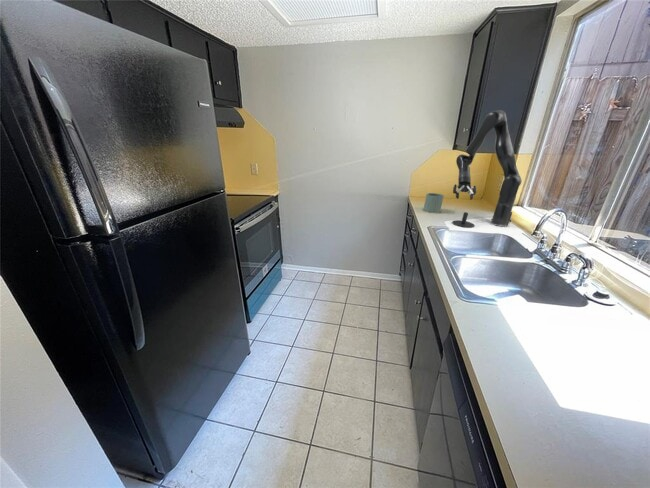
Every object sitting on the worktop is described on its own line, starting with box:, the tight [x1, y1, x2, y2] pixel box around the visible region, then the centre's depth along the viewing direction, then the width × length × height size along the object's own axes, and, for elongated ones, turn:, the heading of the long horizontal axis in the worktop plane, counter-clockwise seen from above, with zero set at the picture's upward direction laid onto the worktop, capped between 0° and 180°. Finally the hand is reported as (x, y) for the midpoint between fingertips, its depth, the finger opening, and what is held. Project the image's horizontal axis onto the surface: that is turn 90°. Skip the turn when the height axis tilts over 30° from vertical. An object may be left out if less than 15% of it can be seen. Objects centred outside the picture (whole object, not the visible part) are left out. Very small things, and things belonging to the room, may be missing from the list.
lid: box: [452, 211, 475, 229], centre depth 172 cm, size 13×13×9 cm
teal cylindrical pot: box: [423, 192, 445, 214], centre depth 201 cm, size 12×12×12 cm
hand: (464, 198), depth 176 cm, fingers open, 8 cm apart
